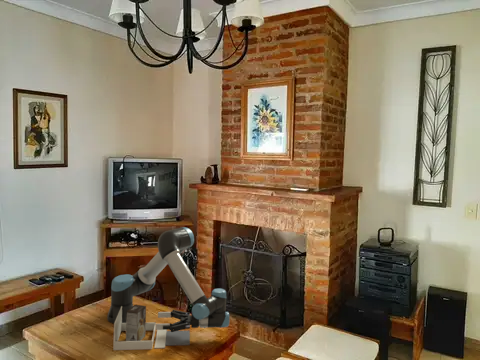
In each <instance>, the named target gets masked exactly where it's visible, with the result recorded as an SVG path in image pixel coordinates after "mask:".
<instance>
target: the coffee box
mask: <svg viewBox="0 0 480 360" xmlns="http://www.w3.org/2000/svg"><path fill="white" fill-rule="evenodd" d="M146 320H147V305H141V304H133V307H132V308H130V309H129V310H128V311H127V312H126V331H125V341H143V339H144V337H146V330H145V329H146V323H147V322H146Z"/></svg>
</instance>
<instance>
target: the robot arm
mask: <svg viewBox="0 0 480 360" xmlns="http://www.w3.org/2000/svg"><path fill="white" fill-rule="evenodd" d="M194 243H195V236H194V233H193V231H192V230H191V229H190V228H188V227H180V228H174V229H170V230H166V231H164V232H162V233H161V234H160V235H159V238H158V240H157V249H158V250H157V251H158V252H157V253H156V254H155V255H154V256H153V258H152V259H150V261H149V262H148V263H147V264H146V265H145V266H144V267H140V268H139V270H138V271H137V272H135V273H134V274H132V275H131V274H127V273H126V274H120V275H119V274H118V276H115V277H114V278H113V279H112V281H111V285H110V286H111V287H110V288H111V290H110V291H111V292H110V293H111V297H110V307H109V310H108V312H107V316H106V319H107V321H108V322H109V323H111V324H114V323H115V320H116V318H117V316H118V313H119V311H120V308H121V306H122V323H126V312H127V311H128V310H129V309H130V308H132V307H133V306H134V303H133V302H134V301H133V299H134V297H136V296H138V295H141V294H143V293H146V292H149V291H151V290H152V289H153V288H154V287H155V285H156V279H157V278H156V277H157V276H158V275H159V274H160V273H161V272H162V271H163V269H165V267H166V266H167V265H168V266H169V268H170V270H171V271H172V273H173V275H174V277H175V278H176V280H177V281H178V284H179V285H180V286H181V288H182V290H183V291H184V293H185V295H186V297H187V298H188V299H189V302H190V303H191V304H192V308H191V314H190V311H189V312H188V311H181V310H178V309H177V310H176V309H172V310H171V311H158V313H157V318H159V319H161V318H162V319H165V318H169V319H170V318H175V319H178V320H179V321H176V322H174V323H173V322H172V323H171V322H170V323H156V330H155V331H157V330H167V331H171V332H175V331H184V330H186V329H187V330H189V329H191V328H192V329H198V328H202V329H206V328H229V326H230V313H229V311H227V291H226V289H224V288H214V289H212V291H211V296H209V297H207V296H206V294H205V293H204V291H203V290H202V288H201V287H200V285H199V283H198V282H197V280H196V278H195V276H194V275H193V273H192V272H191V270H190V268H189V267H188V265H187V264H186V262H185V260H184V259H183V257H182V255H181V254H182V253H183V252H184V251H185V250H186V249H190V248H191V247H192V246H193V245H194Z"/></svg>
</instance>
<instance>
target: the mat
mask: <svg viewBox="0 0 480 360" xmlns="http://www.w3.org/2000/svg"><path fill="white" fill-rule="evenodd" d="M190 334H191V333H190V330H179V331H175V332H171V330H167V333H166V342H165V347H167V346H190V344H191V341H190V340H191V335H190Z"/></svg>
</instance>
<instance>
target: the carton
mask: <svg viewBox="0 0 480 360" xmlns="http://www.w3.org/2000/svg"><path fill="white" fill-rule="evenodd" d="M156 324H157V323H156V321H155V322H146V329H145V331H153V332H152V338H151V340H141V341H126V340H121V341H120V340H119V339H120V336H121V332H124V331H125V332H126V323H122V306H121V308H120V311H119V313H118V316H117V318H116V320H115V323H113V342H112V343H113V344H112V345H113V348H112V349H113V351H125V350H126V351H129V350H130V351H133V350H135V351H136V350H138V351H139V350H153V348H154V349H166V346H165V342H166V333H167V331H168V330H156ZM155 335H156V336H155ZM154 339H155V340H154ZM154 342H155V343H154ZM153 345H154V347H153Z"/></svg>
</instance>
